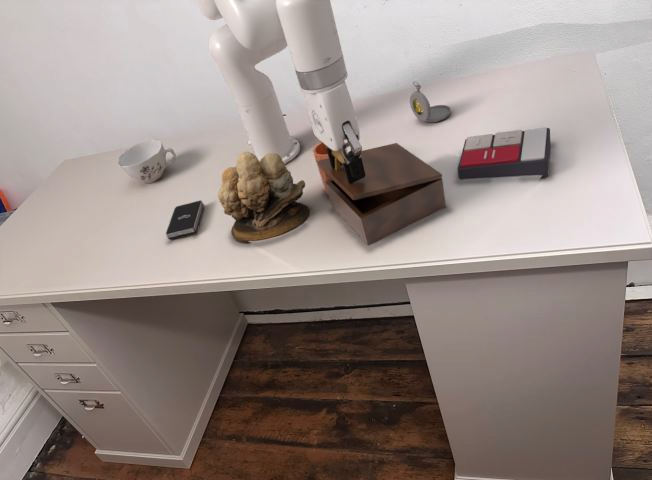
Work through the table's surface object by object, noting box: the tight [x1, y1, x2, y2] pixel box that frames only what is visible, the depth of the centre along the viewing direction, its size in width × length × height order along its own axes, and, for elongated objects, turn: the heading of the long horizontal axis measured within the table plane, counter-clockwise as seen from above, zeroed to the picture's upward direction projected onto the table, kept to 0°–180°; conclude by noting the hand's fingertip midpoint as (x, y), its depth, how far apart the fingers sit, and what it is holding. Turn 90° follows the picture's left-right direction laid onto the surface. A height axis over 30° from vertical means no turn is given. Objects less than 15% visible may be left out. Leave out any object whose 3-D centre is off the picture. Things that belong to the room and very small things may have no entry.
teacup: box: [117, 139, 176, 184], centre depth 140 cm, size 15×12×8 cm
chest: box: [325, 178, 447, 246], centre depth 97 cm, size 16×16×7 cm
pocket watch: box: [409, 81, 452, 123], centre depth 116 cm, size 8×8×10 cm
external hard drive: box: [165, 199, 205, 241], centre depth 118 cm, size 7×11×2 cm, turn 176°
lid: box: [316, 142, 443, 200], centre depth 92 cm, size 17×16×5 cm
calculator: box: [457, 127, 551, 180], centre depth 97 cm, size 11×4×15 cm
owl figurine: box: [217, 151, 310, 245], centre depth 103 cm, size 18×12×17 cm, turn 89°
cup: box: [312, 140, 349, 194], centre depth 107 cm, size 6×6×10 cm
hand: (348, 171), depth 92 cm, fingers closed on lid, 6 cm apart
